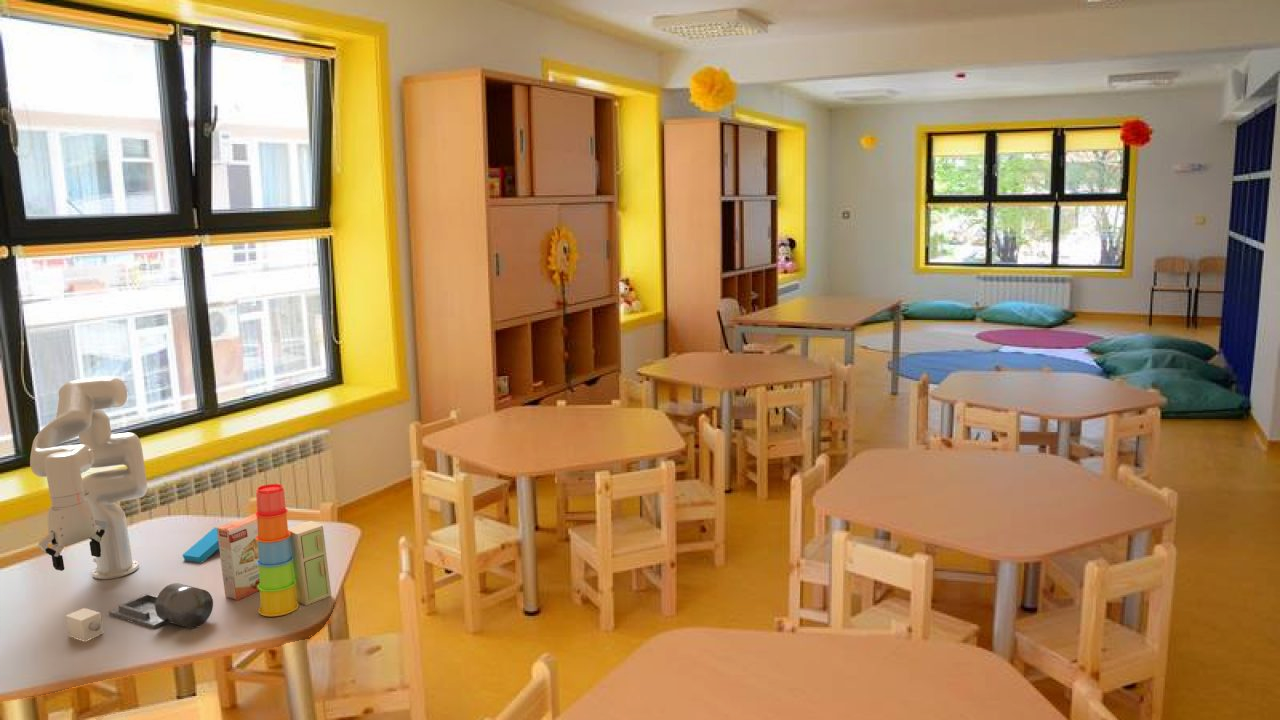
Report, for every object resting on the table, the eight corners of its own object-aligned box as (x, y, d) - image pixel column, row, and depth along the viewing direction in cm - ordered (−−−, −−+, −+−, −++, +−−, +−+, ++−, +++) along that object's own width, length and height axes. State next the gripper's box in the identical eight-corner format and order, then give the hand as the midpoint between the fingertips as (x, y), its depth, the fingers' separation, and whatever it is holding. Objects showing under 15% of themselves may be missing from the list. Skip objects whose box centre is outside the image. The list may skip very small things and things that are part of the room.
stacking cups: (268, 601, 269) (252, 482, 262) (304, 600, 268) (289, 481, 262) (252, 618, 259) (236, 495, 252) (290, 617, 258) (274, 493, 251)
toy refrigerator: (307, 607, 264) (298, 534, 260) (293, 600, 269) (284, 528, 265) (333, 596, 270) (324, 525, 266) (319, 590, 275) (311, 520, 271)
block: (69, 637, 253) (65, 615, 252) (87, 628, 258) (84, 607, 256) (89, 643, 249) (85, 622, 248) (108, 635, 253) (104, 614, 252)
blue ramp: (206, 575, 302) (245, 540, 316) (198, 557, 299) (238, 522, 313) (190, 572, 304) (229, 537, 319) (182, 555, 301) (222, 520, 316)
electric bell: (109, 615, 265) (103, 580, 263) (149, 597, 275) (144, 564, 273) (178, 636, 250) (173, 600, 249) (218, 616, 261) (213, 582, 259)
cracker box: (238, 601, 270) (228, 530, 266) (224, 597, 273) (214, 527, 269) (280, 582, 281) (271, 514, 277) (266, 578, 285) (257, 511, 281)
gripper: (91, 488, 257) (101, 549, 260) (25, 508, 242) (36, 573, 245) (109, 491, 254) (118, 553, 257) (42, 512, 239) (53, 577, 242)
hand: (78, 562), depth 251 cm, fingers open, 9 cm apart
